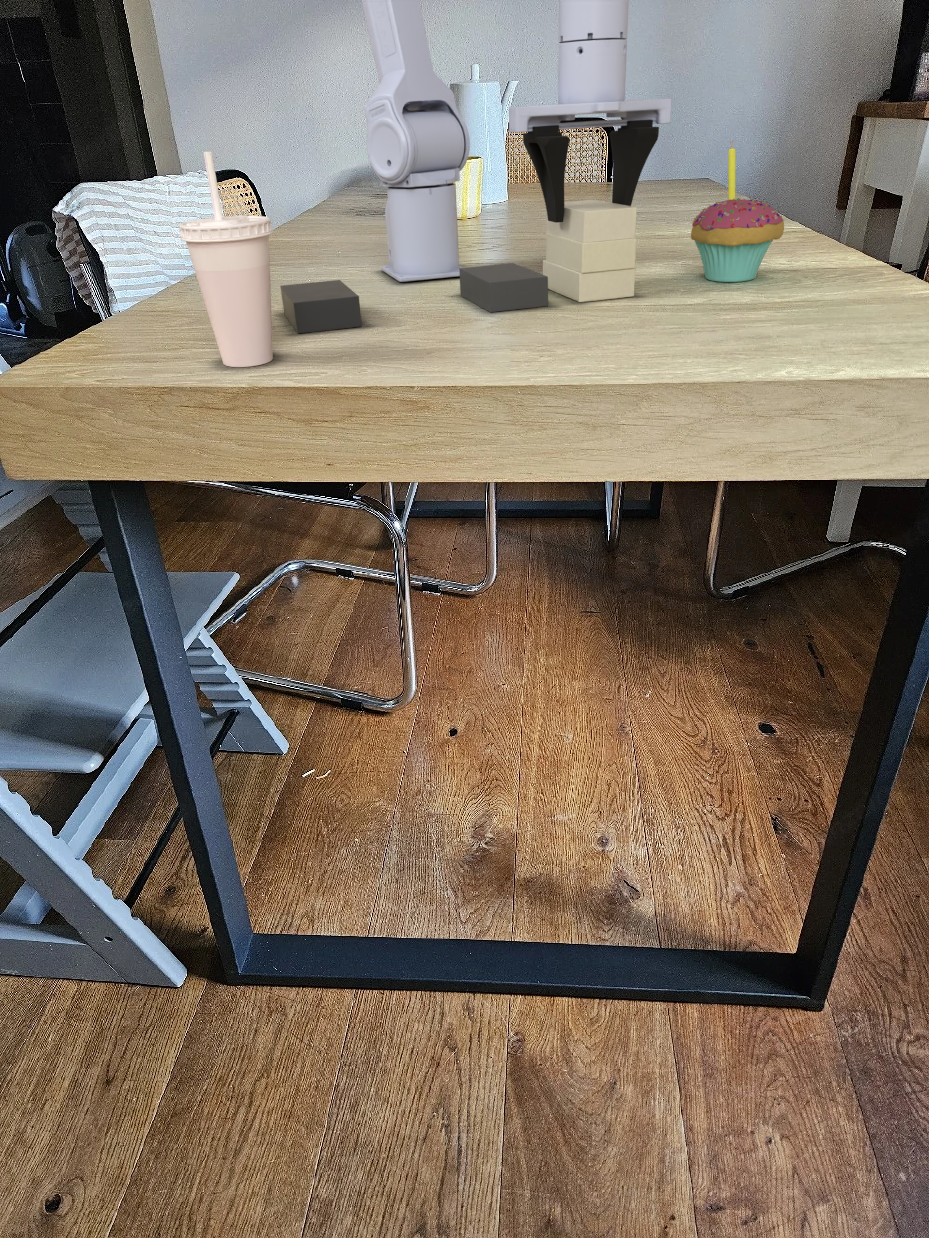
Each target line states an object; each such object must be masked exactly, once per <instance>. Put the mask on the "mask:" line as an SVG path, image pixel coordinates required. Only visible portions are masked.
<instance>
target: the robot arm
mask: <svg viewBox="0 0 929 1238" xmlns="http://www.w3.org/2000/svg"><path fill="white" fill-rule="evenodd" d="M629 2H630V1H629V0H558V58H557V59H558V61H557V64H558V65H557V66H558V67H557V70H558V71H557V72H558V73H557V74H558V76H557V90H558V91H557V104H556V103H555V104H542V105H541V104H539V105H523V106H521V105H520V106H509V107H508V133H516V134H517V133H518V134H520V133H522V141H523V147H524V148H525V150H526V152H527V154H528V156H529V158H530V160H531V163H532V164H533V168H534V170H535V172H536V175H537V178H538V181H539V185H540V187H541V191H542V195H543V200H544V205H545V211H546V210H547V216H548V221H551V222H555V223H558V222H563V219H564V202H565V177H566V168H567V167H566V165H567V158H568V151H569V145H570V137H569V136H567V135H563V131H561V132H560V130H574V129H575V130H576V129H590V128H591V129H592V128H607V127H608V128H609V127H610V128H611V127H618V128H617V130H611V131H610V132H609V140H610V147H611V158H612V159H611V160H612V173H613V174H612V191H611V192H612V193H611V195H612V197H611V203H615V204H621V205H627V206H632V203H633V201H634V197H635V192H636V189H637V186H638V183H639V180H640V177H641V175H642V172H643V169H644V167H645V164H646V163H647V160H648V158H649V156H650V154H651V152H652V150H653V148H654V146H655V145H656V143H657V141H658V139H659V134H660V127H659V126H654V125H664V124H665V125H666V124H671V120H672V119H671V117H672V103H673V102H672V101H673V99H672V98H653V99H652V98H651V99H634V100H633V99H632V100H631V99H630V100H625V99H626V77H627V75H626V74H627V49H628V48H627V47H628V40H627V39H628V30H629V29H628V27H629V26H628V25H629ZM361 4H362V10H363V13H364V19H365V21H366V22H365V23H366V26H367V27H366V28H367V32H368V36H369V42H370V45H371V51H372V54H373V58H374V63H375V68H376V73H377V77H378V81H379V84H378V86H377V87H376V89H375V90H374V92H373V93H372V94H371V96H370V97H369V99H368V100H367V102H366V103H365V106H364V107H363V110H364V115H365V119H366V126H367V127H366V128H367V130H366V131H367V133H366V152H367V158H368V161H369V165H370V166H371V170H372V171H373V172H374V173H375V175H376V176H377V178H379V179H380V183H381V184H380V185H381V187H383V188H384V187H385V188H386V193H387V195H386V196H387V200H386V202H385V207H384V218H385V232H386V244H387V254H388V264H383V265H380V270H381V271H382V272H384V273H386V274H387V275H389V276H390V277H391V278H393V279H395V280H396V281H397V282H399V283H404V282H405V283H406V282H414V281H415V282H416V281H426V280H435V279H444V278H454V277H460V272H459V268H466V267H465V266H463V265H460V253H459V252H460V251H459V250H460V249H459V229H458V207H457V185H456V182H460V181H461V178H460V177H461V176H460V175H461V171H462V170H464V168H465V166H466V163H467V161H468V159H469V156H470V150H471V149H470V148H471V147H470V145H471V142H470V135H469V130H468V127H467V124H466V122H465V121H464V119H463V117H462V116H461V114H460V112H459V110H458V107H457V103H456V99H455V93H454V92H453V90H452V89H451V88H450V87H449V86H448V85H447V84H446V83H445V81H443V80H442V79H441V78H440V77H439V76H438V74H436V72H435V71H434V68H433V64H432V58H431V54H430V53H431V52H430V48H429V43H428V37H427V32H426V27H425V24H424V19H423V18H424V17H423V13H422V8H421V3H420V0H361ZM596 114H605V115H606V118H618V119H606V120H605V119H604V120H603V119H602V120H587V121H574V120H576V115H577V116H578V115H579V116H581V115H596ZM619 118H620V119H619ZM562 121H563V122H562ZM564 121H567V122H564ZM568 121H571V122H568Z"/></svg>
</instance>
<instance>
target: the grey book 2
mask: <svg viewBox="0 0 929 1238" xmlns="http://www.w3.org/2000/svg"><path fill="white" fill-rule="evenodd" d="M459 272H460V276H459V289H460V290H459V291H460V296H461V297H462V298H464V299H466V300H467V301H470V302H471V303H473V304H475V305H476V306H478V307H480V308H481V309H484V310H485V311H487V312H488V313H497V312H506V311H514V310H524V309H532V308H542V307H548V306H549V289H548V277H547V276H545V275H543V273H540V272H537V271H534V270H532V269H529V268H527V267H524V266H522V265H520V264H517V263H515V262H508V263H497V264H489V265H478V266H469V267H465V268H459Z"/></svg>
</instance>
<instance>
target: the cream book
mask: <svg viewBox="0 0 929 1238" xmlns="http://www.w3.org/2000/svg"><path fill="white" fill-rule="evenodd" d="M637 212H638V207H637V206H632V205H631V206H627V205H621V204H615V203H612V202H609V201H603V200H599V199H585V200H583V199H582V200H573V201H564V219H563V222H558V223H555V222H551V221H548V216H547V210H546V209H545V233H551V234H555V235H558V236H562V237H565V238H569V239H572V240H576V241H579V242H583V243H587V242H598V241H609V240H619V239H630V238H636V235H637V234H636V232H637V231H636V230H637V214H638V213H637Z"/></svg>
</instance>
